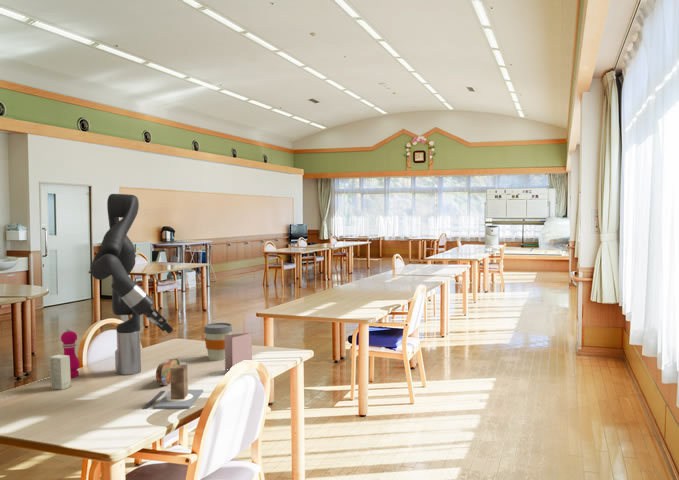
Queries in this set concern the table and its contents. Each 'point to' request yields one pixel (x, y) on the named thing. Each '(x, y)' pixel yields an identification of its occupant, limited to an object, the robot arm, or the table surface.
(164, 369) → the tin
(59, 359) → the skincare box
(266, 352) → the table surface
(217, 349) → the reusable coffee cup
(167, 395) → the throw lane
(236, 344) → the greeting card
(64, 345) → the pepper mill
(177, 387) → the square wooden post
